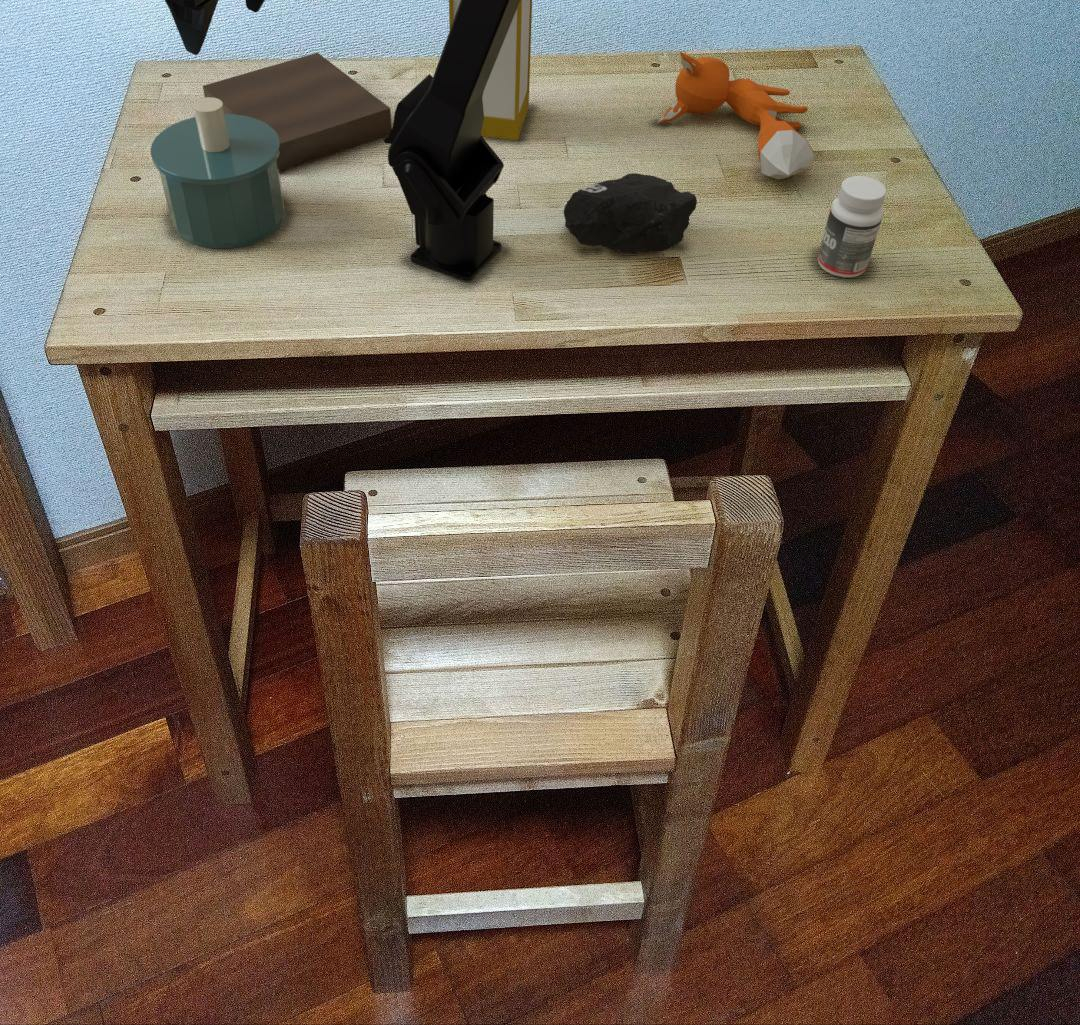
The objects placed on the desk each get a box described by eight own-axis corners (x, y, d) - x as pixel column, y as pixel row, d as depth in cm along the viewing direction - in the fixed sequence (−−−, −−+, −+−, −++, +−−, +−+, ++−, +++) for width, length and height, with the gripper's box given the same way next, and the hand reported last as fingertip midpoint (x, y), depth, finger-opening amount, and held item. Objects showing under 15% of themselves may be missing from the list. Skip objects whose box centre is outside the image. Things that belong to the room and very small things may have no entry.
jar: (301, 196, 113) (292, 131, 108) (259, 257, 106) (247, 190, 101) (201, 179, 114) (188, 114, 109) (153, 238, 107) (136, 171, 102)
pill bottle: (813, 248, 110) (833, 171, 104) (862, 251, 110) (885, 174, 104) (820, 277, 107) (841, 199, 101) (870, 280, 107) (894, 202, 101)
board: (392, 134, 122) (390, 108, 119) (275, 173, 116) (271, 146, 113) (320, 77, 129) (317, 52, 127) (207, 111, 123) (202, 85, 121)
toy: (779, 42, 128) (662, 31, 123) (879, 142, 114) (751, 134, 109) (754, 110, 134) (641, 102, 128) (846, 212, 120) (723, 209, 114)
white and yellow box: (440, 158, 119) (433, -81, 101) (465, 100, 127) (462, -130, 110) (508, 167, 118) (513, -73, 101) (528, 108, 127) (536, -123, 109)
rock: (621, 279, 106) (628, 225, 101) (554, 236, 110) (559, 182, 105) (693, 241, 111) (703, 188, 106) (627, 201, 115) (634, 148, 110)
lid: (300, 135, 108) (293, 83, 105) (251, 200, 101) (242, 146, 97) (186, 117, 110) (176, 65, 106) (130, 179, 102) (116, 125, 98)
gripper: (207, -228, 95) (206, -47, 107) (58, -160, 83) (75, 35, 95) (324, -172, 94) (309, 4, 106) (189, -96, 82) (190, 92, 94)
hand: (223, 30), depth 100 cm, fingers open, 9 cm apart
